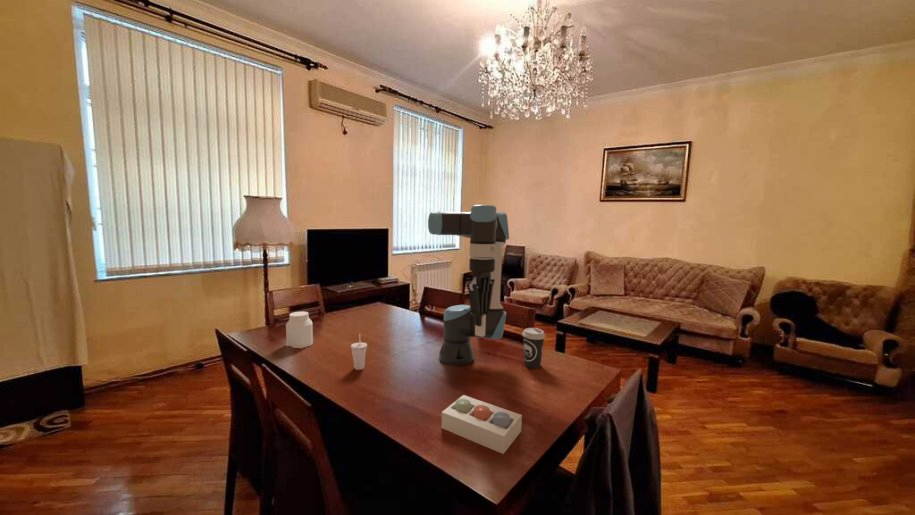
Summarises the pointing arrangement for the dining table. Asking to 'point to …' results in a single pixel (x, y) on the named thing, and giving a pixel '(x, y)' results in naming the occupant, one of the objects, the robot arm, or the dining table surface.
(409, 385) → the dining table surface
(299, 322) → the jar
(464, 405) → the button sage
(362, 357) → the smoothie
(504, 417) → the button slate
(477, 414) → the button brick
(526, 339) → the coffee cup
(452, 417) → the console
